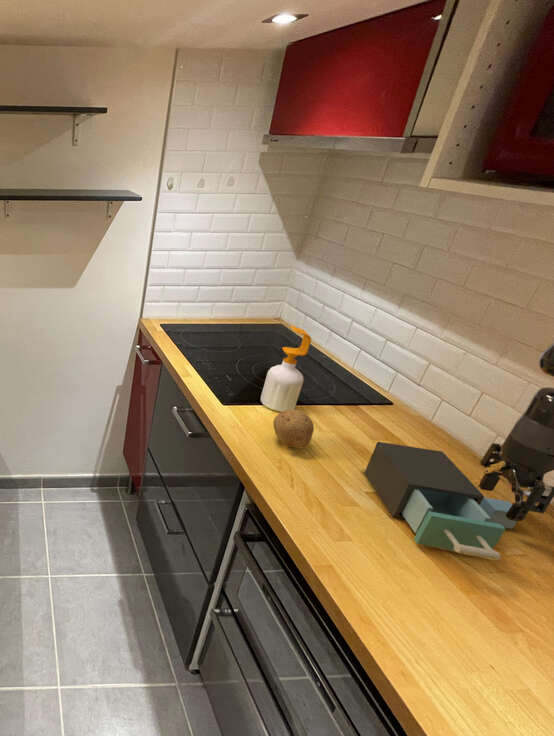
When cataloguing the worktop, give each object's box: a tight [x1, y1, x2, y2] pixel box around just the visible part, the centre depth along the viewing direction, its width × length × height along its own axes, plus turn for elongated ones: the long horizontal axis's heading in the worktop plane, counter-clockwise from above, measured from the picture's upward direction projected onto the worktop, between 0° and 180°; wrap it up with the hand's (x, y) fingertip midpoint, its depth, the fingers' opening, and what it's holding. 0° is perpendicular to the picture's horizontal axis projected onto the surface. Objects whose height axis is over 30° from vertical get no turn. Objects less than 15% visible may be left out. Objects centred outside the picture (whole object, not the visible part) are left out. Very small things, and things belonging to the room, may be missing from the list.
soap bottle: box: [260, 325, 312, 413], centre depth 127 cm, size 9×9×25 cm
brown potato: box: [273, 409, 315, 449], centre depth 113 cm, size 9×9×10 cm
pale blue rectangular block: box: [479, 496, 518, 530], centre depth 92 cm, size 4×4×4 cm
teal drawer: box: [401, 488, 506, 561], centre depth 87 cm, size 18×11×7 cm, turn 165°
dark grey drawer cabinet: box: [363, 441, 485, 521], centre depth 96 cm, size 14×13×9 cm
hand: (498, 503), depth 92 cm, fingers open, 8 cm apart
